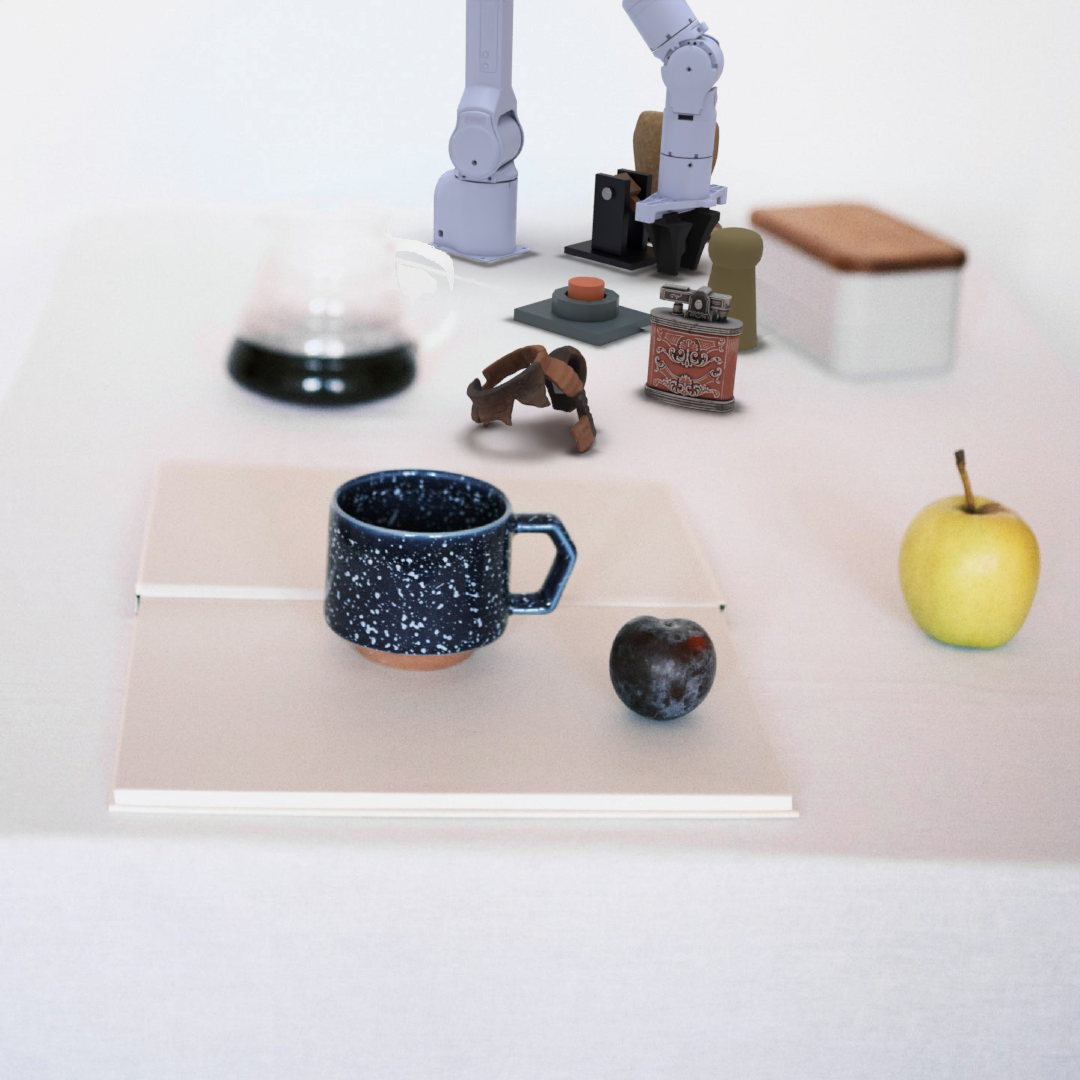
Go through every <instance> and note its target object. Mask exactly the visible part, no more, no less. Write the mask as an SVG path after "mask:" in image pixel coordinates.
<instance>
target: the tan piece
mask: <svg viewBox="0 0 1080 1080" xmlns="http://www.w3.org/2000/svg"><path fill="white" fill-rule="evenodd" d="M662 124H663V111H658V110H644V111H641V112H640V113H639V115H638V118H637V120H636V123H635V128H634V131H633V133H632V151H633V161H634V171H638V172H643V173H647V174H652V175H653V176H652V189H651V195H652V194H654V193H656V192H657V191H658V178H659V165H660V151H661V138H662ZM719 144H720V126H719V123H718V122H717V121H716V128H715V139H714V150H713V160H712V171H711V176H712V175H713V173H714V170H715V167H716V164H717V160H718V155H719V146H720V145H719ZM721 228H723V227H722V225H721V224H720V223H719V222H718V223H717V224H716V226H715V227H714V229H713V231H712V232H711V234H710V236H709V237H711V236H712V234H713V233H714V232H715V231H717V230H719V229H721ZM648 239H650V238H649V235H648Z"/></svg>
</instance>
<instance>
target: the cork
mask: <svg viewBox="0 0 1080 1080" xmlns="http://www.w3.org/2000/svg"><path fill="white" fill-rule="evenodd" d="M707 245H708V246H707V254H708V258H709V259H710V261H711V263H712V265H711V269H710V273H709V277H708V282H707V286H708V287H710V288H711V289H712V290H713V292H714V293H718V294H724V295H729V296H731V297H732V298H731V307H730V309H729V313H728V315H727V317H730V318H734V319H738V320H740V321H742V322H743V328H742V333H741V334H740V336H739V345H738V352H745V351H746V352H747V351H749V350H753V349H755V348H756V347H757V346H758V345H757V344H758V333H757V332H758V331H757V285H756V284H757V281H756V280H757V279H756V278H757V277H756V276H757V275H756V272H757V271H756V266H757V265H758V264H759V263H760V262H761V260H762V257H763V253H764V240H763V238H762V236H761V235H760V233H758V232H757V231H755V230H753V229H749V228H745V227H740V226H739V227H738V226H729V227H722V228H721V229H719V230H717V231H715V232H714V233H713V234H712V236H710V237H709V241H708V244H707ZM716 310H717V315H718V309H716Z"/></svg>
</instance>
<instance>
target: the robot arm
mask: <svg viewBox="0 0 1080 1080" xmlns="http://www.w3.org/2000/svg"><path fill="white" fill-rule="evenodd" d="M621 6H622V9H623V11H624V12H625V13H626V15H627V16H628V18H629V19H630V21H631V22H632V24H633V26H634V27H635V29H636V30H637V32H638V33H639V35H640V36H641V38H642V40H643V41H644V42H645V44H646V45H647V47H648V49H649V50H650V52H651V53H652V55H653V56H654V58H656V59H659V60H660V61H661V62H662V63H663V65H662V66H661V67H660V74H661V75H660V76H661V79H662V82H663V84H664V86H665V88H666V90H665V91H666V92H665V103H664V105H665V106H664V108H663V111H662V112H663V124H662V138H661V151H660V165H659V178H658V191H657V192H656V193H654V194H652V195H651V196H649V197H648V198H646V199H645V200H643V201H640V202H637V203H636V213H635V220H636V221H641V222H642V223H643V225H644V227H645V229H646V231H647V233H648V235H649V238H648V239H649V240H650V243H651V247H653V251H654V255H655V261H656V264H655V266H656V273H659V274H663V275H667V276H671V277H677V276H679V273H680V268H682V269H686V270H689V271H697V270H698V267H699V265H700V261H701V257H702V255H703V252H704V249H705V247H706V244H707V242H708V240H709V239H710V237H711V236H710V234H711V232H712V231H713V229H714V227H715V226H716V224H717V223H719V222H720V220H721V212H720V211H719V210H714V209H710V208H713V207H716V206H723V205H726V204H727V200H728V199H727V198H728V186H725V185H721V184H715V183H714V184H711V179H712V175H711V171H712V160H713V150H714V139H715V128H716V122H717V115H718V111H717V108H716V106H717V103H718V86H715V84H717V82H718V81H719V80H720V79H721V77H722V74H723V71H724V66H725V56H724V53H723V50H722V49H721V46H720V41H719V39H717V38H716V37H715V36H713V35H712V34H708V33H706V32H708V31H709V29H710V28H709V26H708V25H707V23H706V22H705V21H702V22H700V21H699V19H698V18H697V16H696V14H695V12H694V11H693V10H692V8H691V7H690V5H689V4H688V2H687V1H686V0H622V3H621ZM513 36H514V0H465V67H464V69H465V72H464V73H465V74H464V75H465V79H464V80H465V82H464V83H465V84H464V90H463V92H462V95H461V98H460V100H459V103H458V105H457V109H456V123H455V127H454V129H453V131H452V133H451V135H450V137H449V140H448V146H447V147H448V156H449V159H450V161H451V163H452V165H453V167H454V169H453V168H452V169H449V170H446V171H445V172H444V173H442V175H440V177H439V178H438V180H437V182H436V184H435V187H434V193H433V242H432V243H429V244H430V245H431V246H434V247H435V248H434V249H436V248H437V250H440V251H444V252H448V253H450V254H454V255H458V256H460V257H461V256H462V257H465V258H469V259H472V260H475V261H479V262H483V263H490V262H494V261H497V260H503V259H505V258H509V257H513V256H516V255H520V254H525V253H529V252H532V248H529V247H526V246H522V245H518V244H517V216H518V215H517V213H518V184H519V183H518V182H519V178H518V176H519V171H518V169H517V166H516V164H515V160H516V159H517V158H518V157H519V156H520V155H521V153H522V151H523V148H524V144H525V133H524V129H523V126H522V124H521V121H520V119H519V115H518V101H517V97H516V94H515V92H514V89H513V85H512V84H513V45H514V43H513V41H514V38H513ZM685 240H687V250H686V253H685V254H684V255H683V256H682V257H681V255H682V251H683V247H684V243H685Z"/></svg>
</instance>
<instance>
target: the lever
mask: <svg viewBox="0 0 1080 1080" xmlns="http://www.w3.org/2000/svg"><path fill="white" fill-rule="evenodd" d="M613 176H618V177H623V178H627V179H631V186H630V201H629V206H630V208H631V209H632V210H633V211H634V212H635V213H636V203H637V202H640V201H641V200H640V199H639V198H638V197H637V196H638V194H639V193H640V191H641V188H640V187H639V186H638V185H637V184H636V183H635V182H634V180H633V179H632V178H631V177H630V176H629V175H628V174H627V173H622V174H617V173H616V174H614V175H613ZM686 250H687V240H685V243H684V247H683V251H682V255H681V257H682V256H683V255H684V254H685V253H686Z"/></svg>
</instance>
